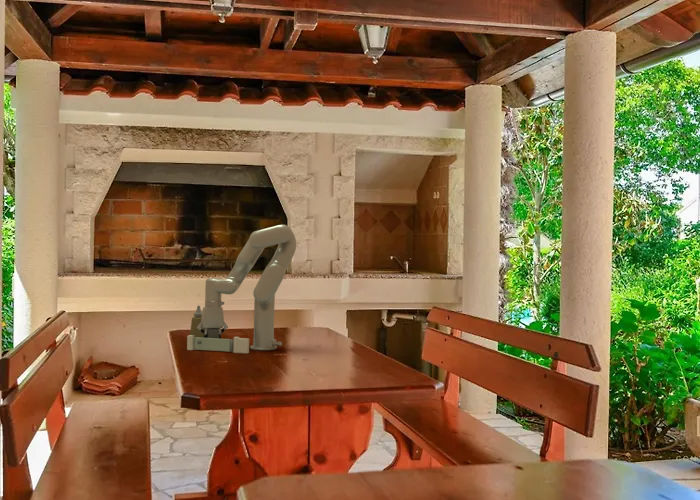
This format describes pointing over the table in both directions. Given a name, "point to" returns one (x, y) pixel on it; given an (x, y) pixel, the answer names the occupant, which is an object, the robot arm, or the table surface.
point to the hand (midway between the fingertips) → (212, 342)
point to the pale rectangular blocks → (239, 347)
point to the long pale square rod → (214, 344)
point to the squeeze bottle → (196, 324)
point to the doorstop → (213, 333)
